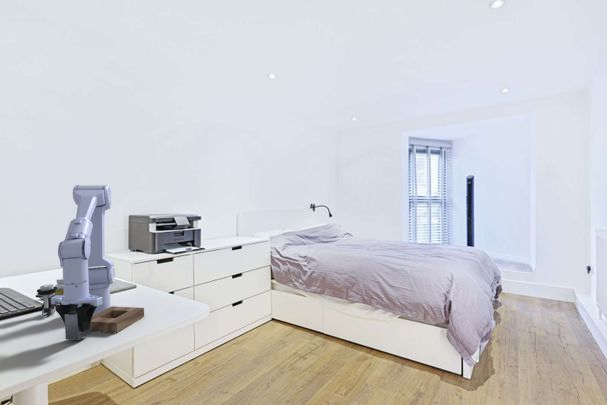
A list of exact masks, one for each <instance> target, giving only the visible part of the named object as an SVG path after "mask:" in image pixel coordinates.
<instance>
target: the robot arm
mask: <svg viewBox="0 0 607 405" xmlns="http://www.w3.org/2000/svg"><path fill="white" fill-rule="evenodd" d="M72 199H73V201H74V203H75V205H77V208H76V215H75V218H74V219H72V220H70V222H69V224H68V227H67V231H66V233H65V238H64V239H63V241H60V242H59V243H58V246H57V247H58V248H57V257H58V259H59V262H60V264H59V266H60V268H62V277H63V290H64V295H57V296H55V295H54V296H51V303H52V304H54V305H56V304H57V303H59V304H60V305H59V306H57V307H55V312H56V313H57V314H58V315H59V317H60V319H61V320H62V322H63V324H64V326H65V314H66V313H69V312H71V311H73V310H75V311H76V313H77V315H78V317H79V322H80V329H81V332H84V331H86V330H87V329H89V327H90V323H91V319H92V316H93V315H95V314H97V313H99V312H101V311H103V310H105V309H107V308H109V307H111V306H112V305H111V286H110V285H112V284H113V283H114V282H115V278H116V270H115V264H114V262H113V260H111V259H109V258H107V257H106V256H105V214H106V211H107V210H110V209H111V207H112V206H111V205H112V192H111V187H110V186H109V185H108V184H103V185H102V184H100V185H99V184H98V185H96V184H95V185H94V184H91V185H90V184H87V185H81V184H75V186H74V187H73V188H72ZM114 306H115V305H114ZM115 307H117V305H116V306H115Z"/></svg>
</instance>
